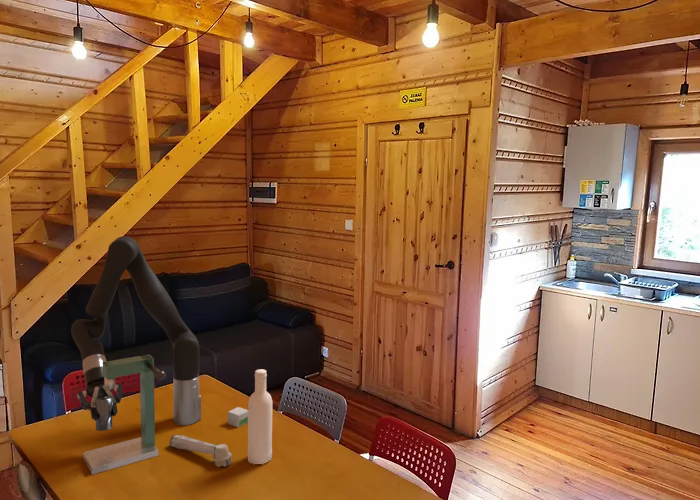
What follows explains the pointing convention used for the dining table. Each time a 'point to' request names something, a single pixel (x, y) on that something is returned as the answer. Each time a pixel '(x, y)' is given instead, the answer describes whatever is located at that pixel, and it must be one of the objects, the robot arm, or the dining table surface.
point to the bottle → (260, 421)
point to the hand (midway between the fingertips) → (105, 417)
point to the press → (145, 444)
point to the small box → (238, 417)
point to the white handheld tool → (203, 449)
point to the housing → (104, 412)
